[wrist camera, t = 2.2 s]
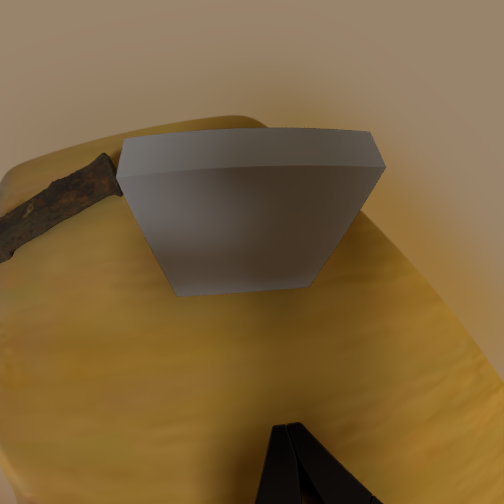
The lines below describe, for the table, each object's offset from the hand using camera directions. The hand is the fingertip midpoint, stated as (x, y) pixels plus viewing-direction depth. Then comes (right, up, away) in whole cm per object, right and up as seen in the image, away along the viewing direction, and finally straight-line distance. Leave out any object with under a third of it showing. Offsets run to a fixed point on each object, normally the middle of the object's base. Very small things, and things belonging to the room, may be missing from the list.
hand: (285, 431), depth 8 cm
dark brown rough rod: (-21, +7, +17) cm, 28 cm away
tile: (-2, +3, +15) cm, 16 cm away
